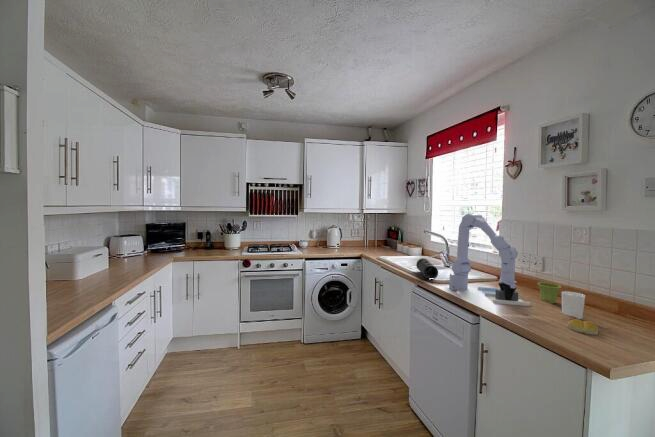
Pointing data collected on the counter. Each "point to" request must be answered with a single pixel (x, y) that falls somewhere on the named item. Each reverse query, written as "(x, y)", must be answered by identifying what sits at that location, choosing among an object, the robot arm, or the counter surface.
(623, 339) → the counter surface
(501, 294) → the dark gray rectangular block
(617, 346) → the counter surface
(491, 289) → the tray
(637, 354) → the counter surface
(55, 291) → the counter surface
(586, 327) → the bread roll
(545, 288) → the plant pot
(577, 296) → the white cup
